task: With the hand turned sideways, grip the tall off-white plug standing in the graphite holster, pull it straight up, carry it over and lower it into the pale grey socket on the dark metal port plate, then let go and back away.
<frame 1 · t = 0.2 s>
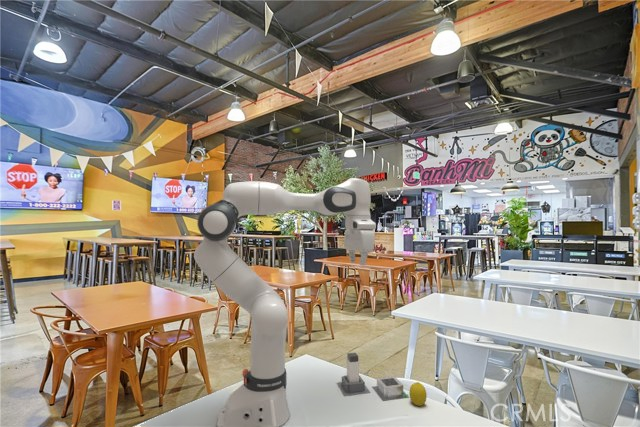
hand: (357, 263, 111), 48 cm above the table, tool pointing down, fingers open, 8 cm apart
plug: (352, 387, 118), point 1 cm above the table, touching holster
holster: (352, 390, 117), on the table
port: (389, 394, 114), on the table
lemon: (418, 407, 107), on the table
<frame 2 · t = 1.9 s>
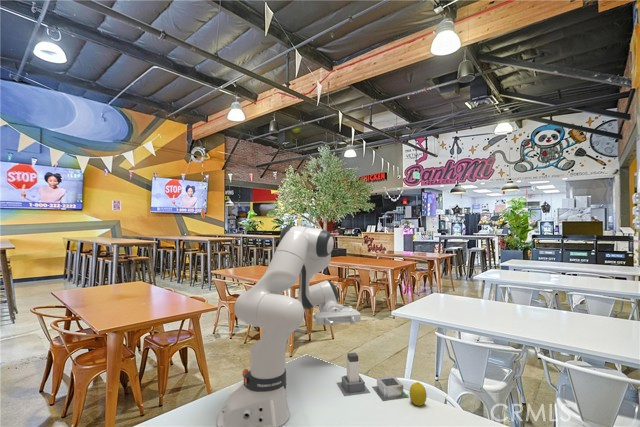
hand: (342, 323, 132), 21 cm above the table, tool horizontal, fingers open, 8 cm apart
nothing on the table moved.
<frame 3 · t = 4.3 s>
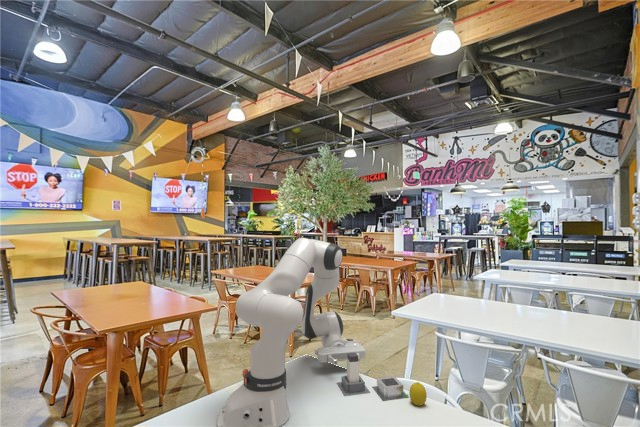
hand: (346, 361, 124), 8 cm above the table, tool horizontal, fingers open, 8 cm apart
nothing on the table moved.
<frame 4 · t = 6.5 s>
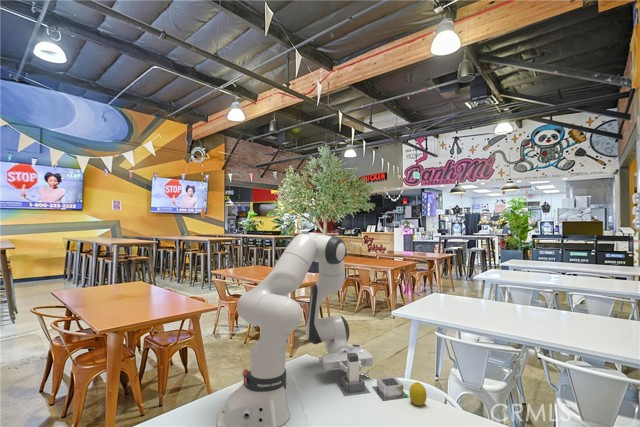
hand: (353, 369, 117), 8 cm above the table, tool horizontal, fingers closed on plug, 4 cm apart
plug: (352, 387, 118), point 1 cm above the table, touching gripper, holster
everything else where it was.
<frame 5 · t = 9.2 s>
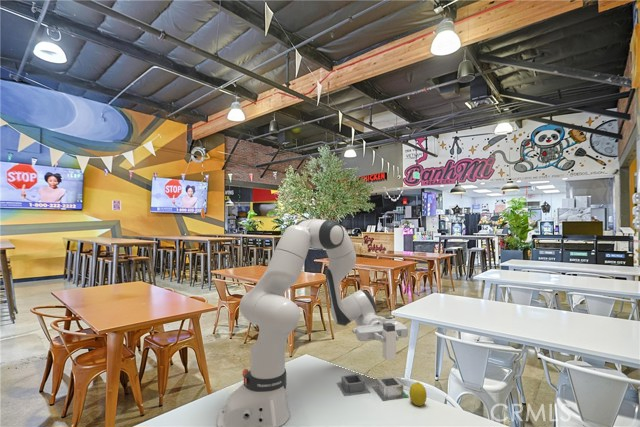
hand: (390, 339, 114), 20 cm above the table, tool horizontal, fingers closed on plug, 4 cm apart
plug: (389, 357, 115), point 13 cm above the table, touching gripper
everything else where it was.
when the fingers open (9 cm above the table, at t = 12.1 s): plug stays where it is, resting on port.
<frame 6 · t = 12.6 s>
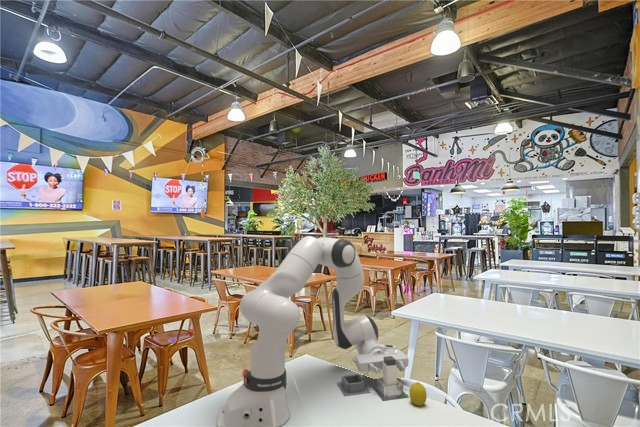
hand: (390, 370, 114), 9 cm above the table, tool horizontal, fingers open, 8 cm apart
plug: (389, 391, 114), point 1 cm above the table, touching port
everything else where it was.
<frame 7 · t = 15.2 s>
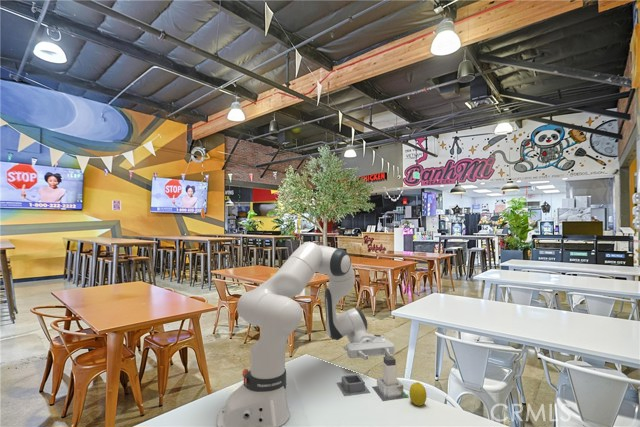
hand: (377, 356, 126), 9 cm above the table, tool horizontal, fingers open, 8 cm apart
nothing on the table moved.
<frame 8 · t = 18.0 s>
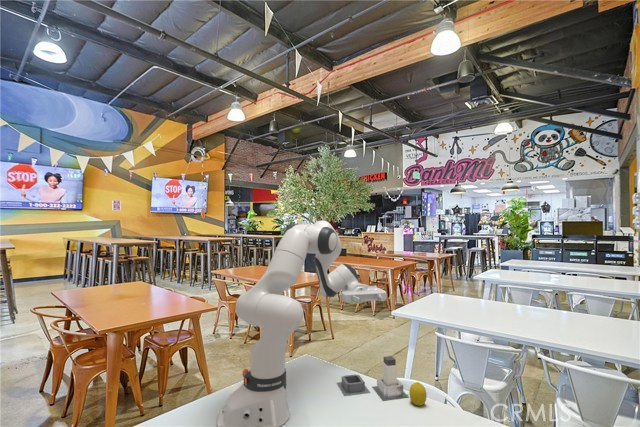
hand: (370, 299, 133), 30 cm above the table, tool horizontal, fingers open, 8 cm apart
nothing on the table moved.
at the end: plug 0.0 cm off-centre on the port, point 1.0 cm above the port's base; plug tilted 0°; the gripper is holding nothing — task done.
